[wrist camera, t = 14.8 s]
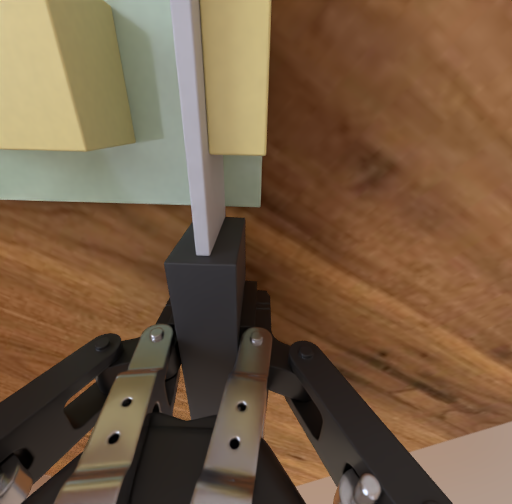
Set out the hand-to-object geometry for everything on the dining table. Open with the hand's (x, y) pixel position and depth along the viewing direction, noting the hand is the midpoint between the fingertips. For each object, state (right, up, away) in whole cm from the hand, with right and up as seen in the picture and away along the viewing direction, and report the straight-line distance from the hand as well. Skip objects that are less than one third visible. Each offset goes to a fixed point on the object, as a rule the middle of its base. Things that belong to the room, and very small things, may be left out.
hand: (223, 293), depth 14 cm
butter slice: (+1, +9, -4) cm, 10 cm away
